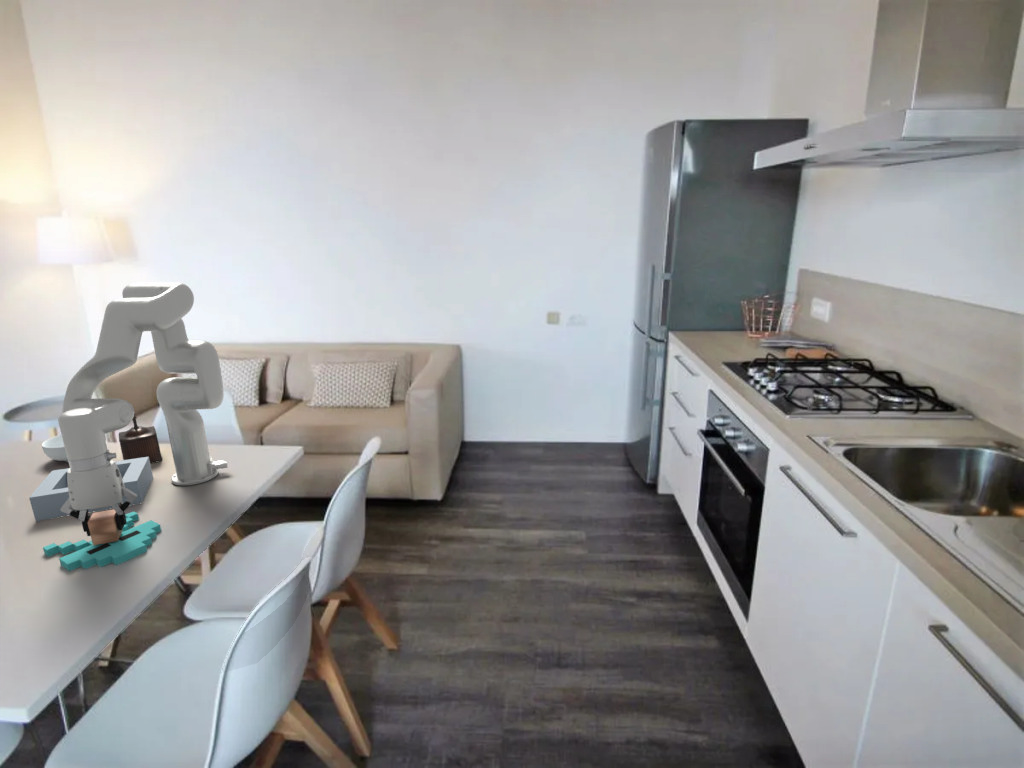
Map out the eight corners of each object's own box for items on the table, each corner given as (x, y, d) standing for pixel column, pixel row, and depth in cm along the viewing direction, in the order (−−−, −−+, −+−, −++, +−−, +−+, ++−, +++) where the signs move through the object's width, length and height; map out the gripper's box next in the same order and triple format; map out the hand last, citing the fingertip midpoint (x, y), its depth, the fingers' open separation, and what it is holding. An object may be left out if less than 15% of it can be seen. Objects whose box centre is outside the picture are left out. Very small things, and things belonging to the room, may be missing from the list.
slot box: (153, 477, 173) (148, 456, 171) (141, 503, 157) (136, 480, 155) (57, 492, 164) (52, 470, 162) (35, 521, 148) (29, 497, 146)
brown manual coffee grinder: (159, 450, 194) (149, 400, 189) (163, 461, 185) (152, 409, 180) (105, 461, 185) (92, 410, 180) (105, 473, 177) (93, 419, 172)
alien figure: (45, 555, 134) (83, 582, 124) (42, 547, 133) (81, 573, 123) (135, 518, 150) (175, 539, 140) (133, 511, 150) (174, 531, 139)
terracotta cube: (122, 530, 139) (117, 508, 138) (118, 540, 135) (112, 518, 133) (98, 534, 137) (93, 512, 136) (93, 545, 133) (87, 522, 131)
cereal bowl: (108, 443, 201) (104, 425, 199) (110, 458, 188) (105, 439, 186) (47, 455, 191) (42, 436, 189) (45, 472, 178) (39, 451, 176)
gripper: (136, 449, 137) (150, 515, 142) (49, 461, 131) (68, 530, 136) (129, 460, 130) (145, 530, 135) (38, 474, 124) (58, 546, 129)
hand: (106, 529), depth 135 cm, fingers open, 5 cm apart
